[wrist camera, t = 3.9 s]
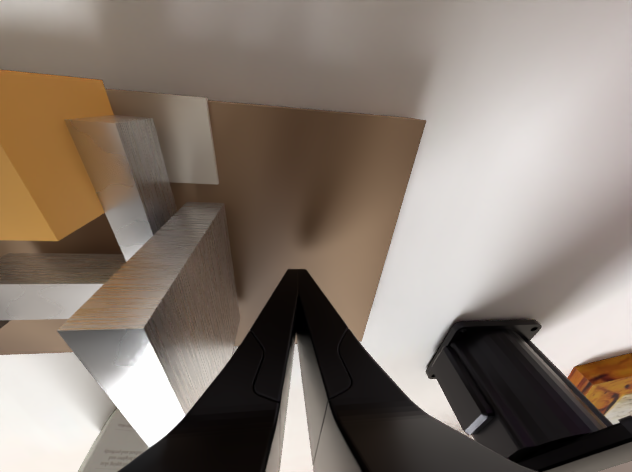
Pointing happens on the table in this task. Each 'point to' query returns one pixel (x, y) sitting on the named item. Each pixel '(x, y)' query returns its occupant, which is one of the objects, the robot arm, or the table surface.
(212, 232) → the gray t-shaped beam
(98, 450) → the skincare box
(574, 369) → the picture frame
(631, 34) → the table surface
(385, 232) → the base
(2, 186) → the orange block
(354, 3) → the table surface
